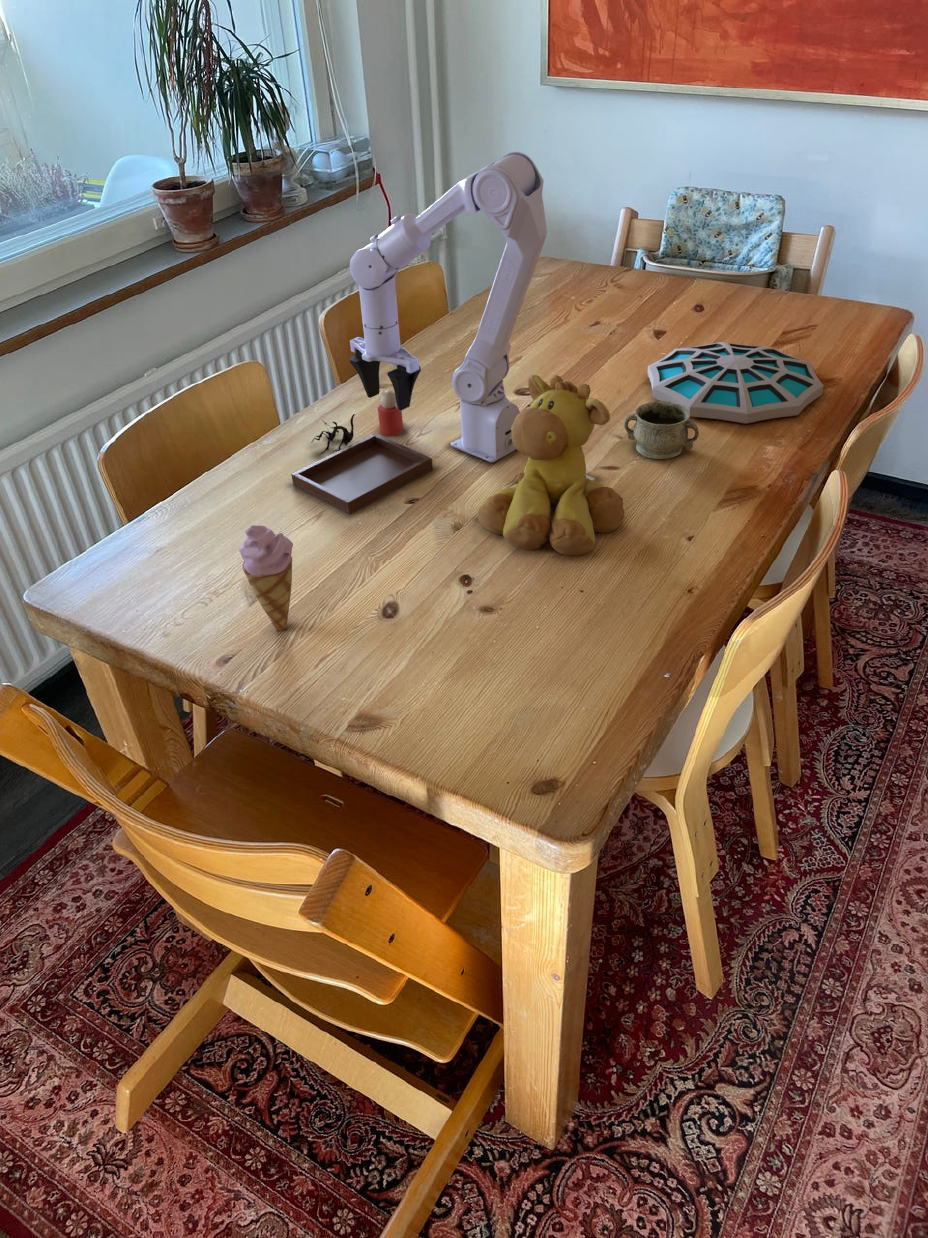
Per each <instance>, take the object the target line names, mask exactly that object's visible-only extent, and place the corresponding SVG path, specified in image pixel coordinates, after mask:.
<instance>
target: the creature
mask: <svg viewBox="0 0 928 1238" xmlns="http://www.w3.org/2000/svg"><path fill="white" fill-rule="evenodd" d="M355 416H356V413H353V414H352V416H351V417H350V420H349V422H350V423H349V424H350V432H349V430H348V428H346V427H344V426H342V425H338V424H337V422H336V421H332V424H334V425H335V426H330V425H329V423H327V422H325V420H323V419H321V421H322V422H323V423H324V425H325V426H327V427H326V428H327V430H321V432H320V434H318V435H316V436H314V437H313V439H312V441H311V443H310V444H312V443H313V442H314V440H316V441H320V440H321V438H322V437H323V435H325V437H326V439H327V444H326V447H325V449H324V450H323V451H321V452H320V453H318V454H317V455H316V456H317V457H319V456H321V455H323V454H324V453H325V452H327V451H330V449H329V448H330V444H331V442H332V443H335V441H334V439H335V438H336V434H337V433H340V431H339V430H342V433H343V434H342V439H340V441H341V442H340V444H339V446H338V449H335V450H332V452H333V451H335V452H337V451H339V450H341V447H342V445H343V444H344V445H345V446H346V447H348V446H347V445H348V444H349V443H351V441H353V438H354V435H355V434H354V417H355ZM328 426H329V428H330V429H332V431H331V432H330V430H329V428H328ZM324 432H325V433H324ZM337 441H339V440H336V442H337Z"/></svg>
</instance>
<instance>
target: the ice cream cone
mask: <svg viewBox="0 0 928 1238" xmlns="http://www.w3.org/2000/svg"><path fill="white" fill-rule="evenodd" d="M244 533H245V536H247V537H245V538H244V541H243V544H242V545H241V546H240V547H239V548H238V552H239V553H240V556H241V559H242V560H243V563H242V571H243V573H244V575H245V577H246V579H247V582H248V584H249V586H250V587H251V589H252V591H253V593H254V595H255V597H256V599H257V601H258V602H259V604H260V606H261V607H262V609H263V611H264V612H265V614H266V616H267V618H268V619H269V621H270V622H271V624H272V625H273V627H274V629H275V630H276V631H278V632H282V631H285V630H286V629H287V626H288V619H289V611H290V604H291V595H292V582H293V556H292V552H293V547H294V543H293V542H292V540H291V539H290V538H288V536H285V535H284V534H283V533H282V532H279V533H277V534H276V533H275V532H274V531H273V530H272V529H271V528H268V527H267V526H265V525H250V526H249V527H247V528H246V529H245V531H244Z"/></svg>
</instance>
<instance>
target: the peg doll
mask: <svg viewBox="0 0 928 1238" xmlns="http://www.w3.org/2000/svg"><path fill="white" fill-rule="evenodd" d="M379 402H380V403H379V405H378V406H377V415H378V425H379V432H380V434H381V435H384V436H389V437H390V436H391V437H392V436H397V435H400V434H402V433H403V432H404V422H403V421H404V419H403V410H399V409H398V407H397V403H396V397H395V391H394V390H393V391H392V390H389V389H387V390H384V391H382V393H381V394H380V396H379Z"/></svg>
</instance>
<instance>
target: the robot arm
mask: <svg viewBox="0 0 928 1238" xmlns="http://www.w3.org/2000/svg"><path fill="white" fill-rule="evenodd" d="M543 189H544V178H543V176H542V175H541V173H540V171H539V170H538V167H537V165H536V163H535V162H534V161H533V159H532V158H531V157H530V156H529V155H527V154H525V153H523V152H520V151H511V152H508V153H506V154H505V155H504V156H502V157H501V158H500V159H499V160H498V161H494V162H492V163H490V164H488V165H485V166H484V167H483V168H480V169H479V170H477V171H475V172H473V173H471V174H469V175H468V176H466V177H465V178H463V179H462V180H459V181H458V182H457V183H456V184H454V185H453V186H452V187H451V188H450V189H449V190H447V191H446V192H445V193H444V194H443V195H442V196H440V197H439V198H438V199H437V200H435V202H433V203H432V204H431V205H429V207H428V208H427V209H425V210H424V211H423V212H421V214H419V215H418V214H413V213H405V214H404V215H402V214H401V213H399V214H397V215H396V216H394V217H393V218H392V219H391V220H390V223H391V225H390V226H389V227H388V228H386V229H385V230H383V232H381V233H380V234H379V233H376V234H374V235H373V236H371V237H370V238H369V241H370V242H371V243H369V244H367V245H365V247H362V248H359V249H357V250H356V251H355V252H354V254H353V255H352V257H351V258H350V261H349V273H350V276H351V278H352V279H353V281H354V282H355V283H356V284H357V285H358V293H359V301H360V302H359V304H360V310H361V312H360V313H361V320H362V331H363V337H364V338H363V337H360V336H357V337H355V338H352V339H350V340H349V346H350V352H352V353H354V356H351V357H349V363H350V364H351V366H352V367H353V368H354V370H355V371H356V373H357V375H358V377H359V379H360V381H361V383H362V387H363V388H364V391H365V393H366V396H367V397H368V398H369V399H371V398H373V397H376V396H378V395H379V394H380V365H381V362H382V363H387V364H391V365H393V366H396V368H395V369H392V370H390V371H388V372H387V377H388V378H389V381H390V382H391V385H392V388H393V392H394V393H395V397H396V403H397V407H398V409H399V410H402V411H404V410H406V409H407V408H410V406H411V400H412V396H413V390H414V387H415V384H416V381H417V380H418V377H419V375H420V373H421V371H422V368H421V366H420V359H419V357H417V356H414V355H413V354H412V353H410V352H409V351H408V350H407V349H406V348H404V347H403V346H402V345H401V335H400V334H401V333H400V324H399V323H400V322H399V311H398V299H397V290H396V288H397V287H396V285H397V283H396V276H397V274H398V273H399V272H400V271H401V270H402V269H403V268H405V267H407V266H408V265H409V264H410V263H411V262H413V261H414V260H416V258H419V256H421V255H423V253H425V252H426V251H428V250H429V248H430V247H431V243H432V235H433V234H434V233H436V231H439V230H440V229H441V228H442V227H443V226H445V225H446V224H448V223H449V222H451V221H452V220H453V219H455V218H456V217H458V216H459V215H460V214H462V213H463V212H465V211H467V212H470V213H473V214H477V213H479V212H480V211H481V212H482V213H483V214H484V215H485V216H486V217H487V218H488V219H489V220H490V221H491V222H492V223H493V225H495V226H496V227H497V228H498V229H499V230H500V232H501V233H502V235H503V236H504V238H505V240H506V244H505V246H504V249H503V252H502V256H501V258H500V262H499V264H498V267H497V271H496V273H495V277H494V280H493V284H492V286H491V289H490V292H489V296H488V297H487V298H488V299H487V302H486V304H485V308H484V311H483V314H482V317H481V320H480V323H479V326H478V329H477V331H476V335H475V338H474V340H473V342H472V344H470V347H469V348H468V351H467V352H466V354H465V356H464V359H463V362H462V364H461V365H460V366H459V367H457V368H456V369H455V370H454V372H453V374H452V376H451V378H452V379H451V385H452V388H453V391H454V393H455V395H456V396H457V397H458V398H459V407H460V408H459V410H460V412H459V413H460V430H461V431H460V432H461V433H460V434H461V437H460V438H457V439H456V440H454V441H452V442H451V443H450V447H452V448H455V449H457V450H459V451H462V452H464V453H467V454H469V455H470V456H471V455H472V456H474V457H477V458H480V459H481V460H484V461H486V462H489V463H495V462H497V461H498V460H500V459H502V458H503V457H506V456H507V455H509V454H511V453H512V452H514V451H516V450H517V449H516V448H515V447H514V445H513V442H512V436H511V428H512V425H513V423H514V420H515V418H516V417H517V415H518V414H519V413H520V409H519V406H517V405H516V404H515V403H513V402H512V401H510V399H508V397H507V396H506V394H505V386H504V379H505V378H506V377H507V376H508V374H509V371H510V357H509V356H510V352H511V349H512V345H511V344H510V343H509V342H510V339H511V338H512V334H513V332H514V328H515V326H516V323H517V320H518V317H519V314H520V311H521V308H522V306H523V303H524V301H525V297H526V294H527V291H528V289H529V286H530V284H531V280H532V278H533V275H534V272H535V269H536V266H537V264H538V261H539V258H540V255H541V252H542V250H543V247H544V244H545V242H546V238H547V234H548V228H547V220H546V213H545V206H544V205H545V204H544V199H543Z"/></svg>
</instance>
